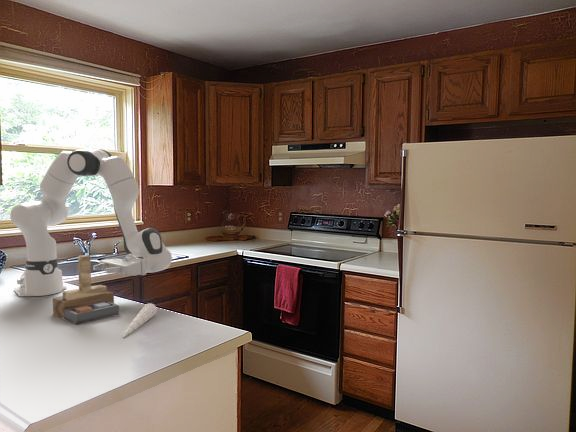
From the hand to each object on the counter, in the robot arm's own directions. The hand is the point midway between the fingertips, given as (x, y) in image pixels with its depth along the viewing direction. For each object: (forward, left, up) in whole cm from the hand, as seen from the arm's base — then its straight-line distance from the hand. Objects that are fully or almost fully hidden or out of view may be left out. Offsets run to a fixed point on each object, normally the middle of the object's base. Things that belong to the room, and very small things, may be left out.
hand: (100, 269), depth 165 cm
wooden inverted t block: (+1, -6, -8) cm, 11 cm away
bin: (+9, -8, -14) cm, 19 cm away
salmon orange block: (+10, -11, -10) cm, 18 cm away
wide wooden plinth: (0, -6, -14) cm, 16 cm away
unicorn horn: (+30, -2, -15) cm, 33 cm away
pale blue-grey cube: (+10, -5, -10) cm, 15 cm away
